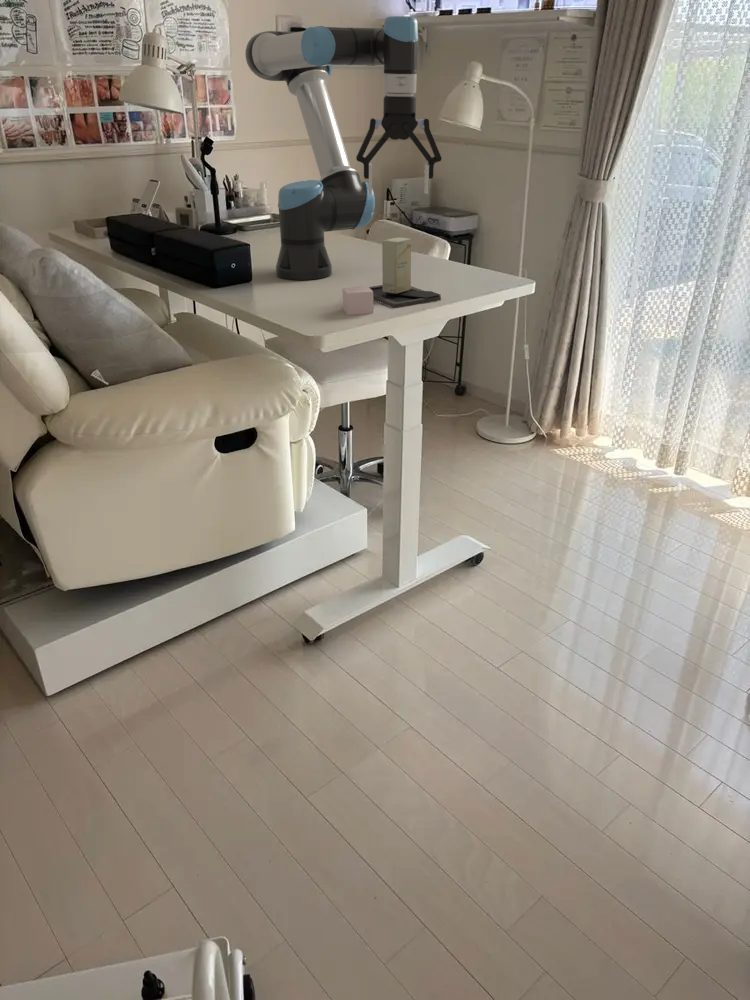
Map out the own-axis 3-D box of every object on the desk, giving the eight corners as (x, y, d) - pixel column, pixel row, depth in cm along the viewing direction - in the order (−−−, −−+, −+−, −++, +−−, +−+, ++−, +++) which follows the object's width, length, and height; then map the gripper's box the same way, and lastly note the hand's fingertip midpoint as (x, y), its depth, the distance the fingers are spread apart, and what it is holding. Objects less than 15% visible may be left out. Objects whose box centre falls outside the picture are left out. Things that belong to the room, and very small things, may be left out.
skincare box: (396, 294, 189) (396, 242, 184) (381, 292, 192) (381, 240, 186) (411, 289, 194) (412, 238, 188) (397, 287, 196) (397, 236, 191)
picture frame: (440, 302, 190) (399, 288, 204) (440, 294, 189) (399, 280, 203) (394, 310, 184) (355, 295, 197) (394, 302, 183) (355, 287, 196)
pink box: (347, 315, 179) (347, 293, 176) (342, 309, 183) (342, 288, 180) (373, 313, 180) (373, 291, 178) (367, 308, 184) (367, 286, 182)
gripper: (345, 95, 178) (347, 195, 188) (456, 95, 179) (451, 195, 189) (345, 94, 184) (346, 190, 194) (451, 94, 185) (447, 190, 196)
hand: (398, 193), depth 192 cm, fingers open, 13 cm apart
